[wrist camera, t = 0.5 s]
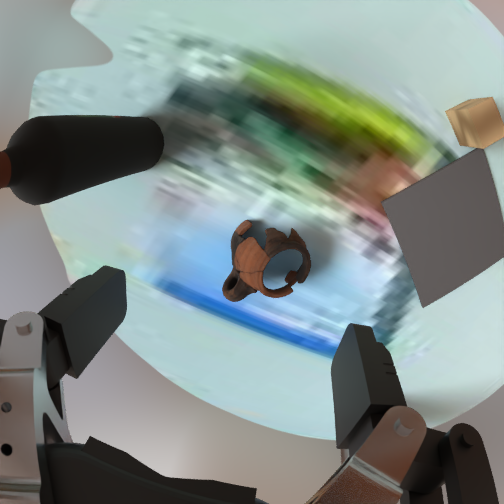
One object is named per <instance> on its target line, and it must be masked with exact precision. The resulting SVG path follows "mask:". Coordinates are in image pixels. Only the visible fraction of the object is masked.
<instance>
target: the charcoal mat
mask: <svg viewBox="0 0 504 504" xmlns="http://www.w3.org/2000/svg"><path fill="white" fill-rule="evenodd" d="M381 203H382V205H383V208H384V210H385V212H386V214H387V216H388V219H389V221H390V223H391V226H392V228H393V230H394V233H395V235H396V237H397V240H398V242H399V245H400V247H401V250H402V252H403V255H404V257H405V260H406V262H407V265H408V268H409V270H410V273H411V276H412V279H413V281H414V284H415V287H416V290H417V293H418V296H419V299H420V302H421V305H422V307H423V308H424V307H425V306H427V305H429V304H431V303H433V302H434V301H436V300H438V299H439V298H441V297H443V296H445V295H446V294H448V293H450V292H451V291H453V290H455V289H456V288H458V287H459V286H461V285H463V284H464V283H466V282H467V281H469V280H471V279H472V278H474V277H475V276H477V275H478V274H480V273H481V272H483V271H484V270H486V269H487V268H489V267H490V266H492V265H493V264H494V263H496V262H497V261H499V260H500V259H502V258H503V257H504V224H503V219H502V214H501V210H500V205H499V201H498V197H497V193H496V189H495V186H494V182H493V179H492V175H491V172H490V169H489V165H488V162H487V159H486V156H485V153H484V150H483V149H481V148H476V149H475V150H473V151H471V152H469V153H468V154H466V155H464V156H462V157H461V158H459V159H457V160H455V161H454V162H452V163H450V164H448V165H446V166H445V167H443V168H441V169H439V170H438V171H436V172H434V173H432V174H430V175H429V176H427V177H425V178H423V179H422V180H420V181H418V182H416V183H414V184H413V185H411V186H409V187H407V188H405V189H404V190H402V191H400V192H398V193H396V194H394V195H393V196H391V197H389V198H387V199H385V200H384V201H382V202H381Z"/></svg>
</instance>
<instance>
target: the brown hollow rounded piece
mask: <svg viewBox="0 0 504 504" xmlns="http://www.w3.org/2000/svg"><path fill="white" fill-rule="evenodd" d="M251 227H252V223H251V222H249V221H248V220H245V221H244V222H242V223H241V224H240V225H239V226H238V227H237V229H236V230H235V232H234V234H233V236H232V239H231V250H232V265H233V270H232V272H231V273H230V275H229V276H228V277H227V279H226V280H225V282H224V285H223V288H222V291H223V295H224V296H225V298H226V299H228V300H230V301H232V302H237V301H241V300H242V299H244V298H245V297H246V296H247V295H249V294H251V293H256V292H257V290H258V291H260V292H261V293H262V294H263V295H265V296H268V297H272V298H279V297H283V296H286V295H289V294H291V293H292V292H293V289H292V288H291V286H292V285H294V284H295V283H296V282H297V281H298V283H303V282H304V281H305V280H306V278H307V276H308V274H309V271H310V268H311V260H310V254H309V252H308V250H307V249H306V244H305V242H304V241H303V240H302V239H301V237H300V236H299V235H298V233H297V232H296V231H295V230H294V229H293V228H292V229H291V234H290V236H289V238H287V236H286V235H285V234H284V233H283V232H280V231H277V230H276V229H275V228H268V229H266V230H265V233H266V235H267V238H266V245H265V249H263V248H262V247H261V246H260V245H259V243H258V242H257V240H256V239H255V238H253V237H248V238H247V239H246V240H245V239H244V238H242V235H243V234H244V233H245V232H246V231H247V230H248V229H249V228H251ZM287 249H295V250H298V251H299V252H300V253H301V254H302V258H303V262H302V265H301V267H300V268H299V269H298V271H297V272H296V271H290V272H289V273H288V274H287V276H286V278H285V282H287V283H288V284H287V285H285V286H284V287H281V288H279V289H274V290H272V289H268V288H266V287H265V286H264V284H263V271H264V269H265V267H266V265H267V264H268V262H269V261H270V259H271V258H272V257H273V256H275V255H276V254H278V253H279V252H281V251H284V250H287Z"/></svg>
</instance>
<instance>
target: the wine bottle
mask: <svg viewBox="0 0 504 504" xmlns="http://www.w3.org/2000/svg"><path fill="white" fill-rule="evenodd" d="M163 146H164V140H163V134H162V132H161V129H160V127H159V126H158V125H157V124H156V123H155V122H154V121H152V120H150V119H149V118H143V117H130V116H106V115H59V116H38V117H35V118H32V119H30V120H28V121H26V122H24V123H23V124H22V125H21V126H20V127H19V128H18V129H17V131H16V132H15V133H14V134H13V135H12V137H11V139H10V141H9V144H8V145H7V148H6V149H5V150H3V151H1V152H0V189H1V188H4V187H10V188H11V190H12V192H13V193H14V194H15V195H16V196H17V197H18V198H19V199H21V200H22V201H24V202H26V203H29V204H32V205H40V204H45V203H49V202H52V201H55V200H57V199H60V198H63V197H65V196H68V195H71V194H73V193H76V192H79V191H82V190H85V189H88V188H90V187H93V186H96V185H99V184H102V183H105V182H109V181H112V180H115V179H118V178H121V177H125V176H128V175H131V174H135V173H138V172H142V171H145V170H147V169H149V168H151V167H153V166H154V165H155V164H156V163H157V162H158V160H159V158H160V156H161V154H162V152H163Z"/></svg>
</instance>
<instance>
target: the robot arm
mask: <svg viewBox="0 0 504 504" xmlns="http://www.w3.org/2000/svg"><path fill="white" fill-rule="evenodd" d="M126 311H127V299H126V276H125V272H124V271H123V270H120V269H117V268H113V267H110V266H106V265H105V266H103V267H101V268H100V269H99V270H98V271H96V272H95V273H94V274H93V275H88V276H86V277H83V278H81V279H78V280H77V281H76V282H75V283H73V284H72V285H71V286H70V288H67V289H66V290H65V291H64V292H63V293H62V294H60V295H59V296H58V297H56V298H55V299H54V300H53V301H52V302H50V303H49V304H48V305H47V306H46V307H44V308H43V309H42V310H41V311H40V312H39V313H34V312H20V313H17V314H15V315H13V316H12V317H11V318H10V319H9V320H8V321H7V320H2V319H0V504H268V503H266V502H264V501H262V500H260V499H257V498H255V497H256V490H257V489H256V488H250V487H244V486H239V485H233V484H229V483H224V482H219V481H215V480H198V479H196V480H195V479H182V478H170V477H165V476H162V475H160V474H159V473H157V472H155V471H154V470H152V469H151V468H149V467H147V466H146V465H144V464H143V463H141V462H139V461H138V460H137V459H135V458H134V457H132V456H131V455H129V454H128V453H126V452H124V451H122V450H119V449H117V448H114V447H112V446H110V445H107V444H106V443H103V442H101V441H99V440H97V439H95V438H93V437H91V436H90V437H89V439H88V440H87V442H86V444H80V443H73V441H72V438H71V435H70V432H69V429H68V424H67V417H66V409H65V400H64V389H63V381H62V379H61V378H62V377H63V376H64V375H65V373H66V374H68V375H70V376H72V377H74V378H76V379H77V378H78V377H79V376H80V374H81V373H82V372H83V370H84V369H85V368H86V367H87V365H88V364H89V363H90V362H91V360H92V359H93V358H94V356H95V355H96V354H97V353H98V351H99V350H100V349H101V348H102V346H103V345H104V344H105V343H106V341H107V340H108V339H109V338H110V336H111V335H112V334H113V333H114V332H115V330H116V329H117V328H118V327H119V325H120V324H121V323H122V322H123V320H124V318H125V315H126ZM393 365H394V363H393V360H392V357H391V354H390V352H389V351H388V350H387V349H386V347H385V346H384V345H383V344H382V343H380V342H376V339H375V336H374V333H373V330H372V328H371V327H370V326H364V325H358V324H353V323H350V324H349V325H348V327H347V328H346V331H345V333H344V335H343V338H342V340H341V342H340V344H339V347H338V349H337V351H336V353H335V355H334V358H333V361H332V366H331V378H332V389H333V400H334V413H335V428H336V443H337V448H338V449H341V464H342V465H341V466H340V467H339V468H338V469H337V470H336V472H335V473H334V474H333V475H332V476H331V477H330V479H328V481H327V482H326V483H325V484H324V485H323V486H322V487H321V488H320V489H319V490H318V491H317V492H316V493H315V494H314V495H313V496H312V497H311V498H310V499H309V500H308V501H307V502H306V503H305V504H397V503H398V501H399V499H400V504H444V501H443V494H442V488H441V486H442V485H443V484H445V485H446V491H447V497H448V504H499V502H498V497H497V492H496V488H495V483H494V479H493V476H492V471H491V468H490V464H489V460H488V457H487V454H486V450H485V447H484V444H483V441H482V438H481V436H480V434H479V433H478V431H477V430H476V429H475V428H474V427H472V426H470V425H468V424H465V423H460V424H456V425H454V426H453V427H452V428H451V429H450V431H448V432H447V433H445V432H441V431H437V430H434V429H430V428H427V427H426V423H425V421H424V419H423V417H422V416H421V415H420V414H419V413H418V412H417V411H415V410H414V409H412V408H409V407H407V404H406V401H405V398H404V394H403V391H402V388H401V385H400V382H399V378H398V375H396V374H397V372H396V369H395V366H393Z"/></svg>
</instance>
